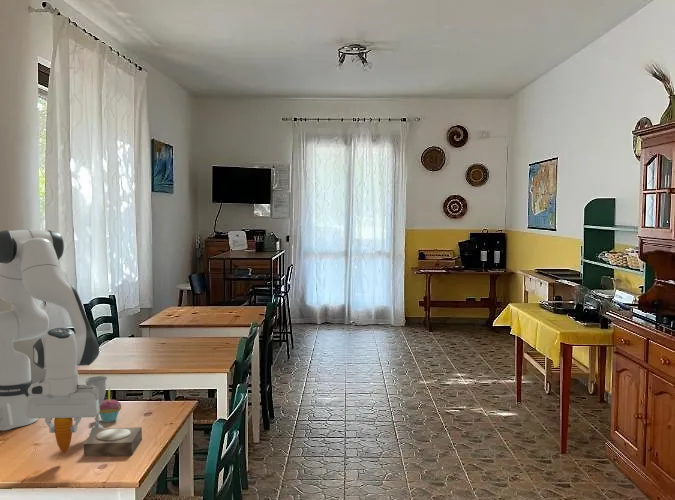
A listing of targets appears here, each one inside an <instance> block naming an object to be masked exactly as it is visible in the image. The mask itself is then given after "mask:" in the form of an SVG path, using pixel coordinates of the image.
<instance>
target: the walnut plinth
mask: <svg viewBox="0 0 675 500" xmlns="http://www.w3.org/2000/svg"><path fill="white" fill-rule="evenodd" d="M103 428H104V429H96V430H95V431H94V432H93V434H92V435H90V436H89V437H88V438H87V439H86V440H85V442H83V458H97V457H101V458H102V457H123V456H124V457H125V456H133V454H134V453H135V452H136V451H137V448H138V447H139V446H140V444H141V442H142V440H143V430H142V429H143V427H142V426H141V427H140V426H138V427H137V426H136V427H115V428H114V427H110V428H109V427H108V428H107V427H106V428H105V427H103Z"/></svg>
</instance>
